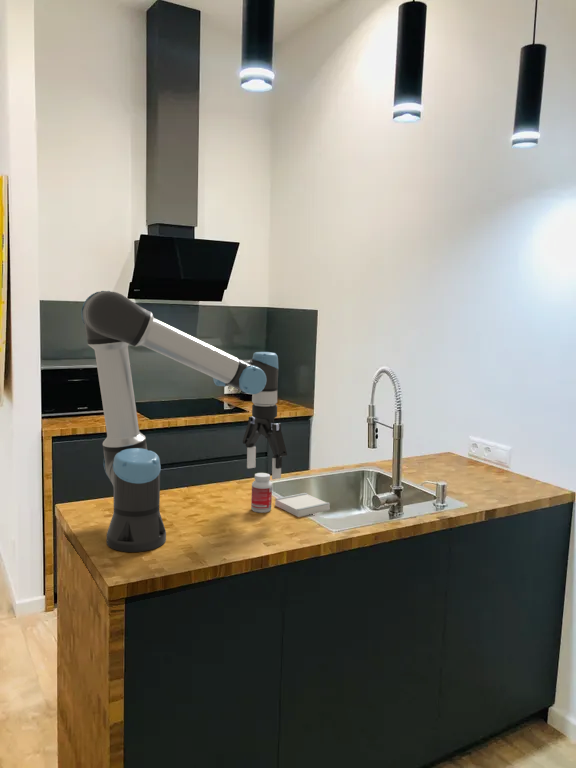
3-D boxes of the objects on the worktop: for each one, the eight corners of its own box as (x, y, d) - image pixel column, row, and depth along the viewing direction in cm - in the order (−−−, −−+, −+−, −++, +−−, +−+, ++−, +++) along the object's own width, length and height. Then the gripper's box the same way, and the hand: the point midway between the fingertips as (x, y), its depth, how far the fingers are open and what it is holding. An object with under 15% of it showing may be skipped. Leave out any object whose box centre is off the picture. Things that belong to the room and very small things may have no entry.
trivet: (298, 517, 189) (298, 509, 189) (275, 505, 198) (275, 498, 198) (329, 510, 196) (329, 503, 196) (305, 499, 206) (305, 492, 205)
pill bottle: (272, 513, 191) (273, 477, 190) (251, 513, 191) (253, 477, 189) (270, 506, 198) (271, 471, 196) (250, 506, 197) (251, 471, 195)
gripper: (300, 409, 182) (298, 481, 185) (252, 396, 202) (251, 461, 205) (278, 412, 178) (277, 485, 181) (232, 398, 197) (231, 465, 200)
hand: (263, 473), depth 193 cm, fingers open, 13 cm apart
